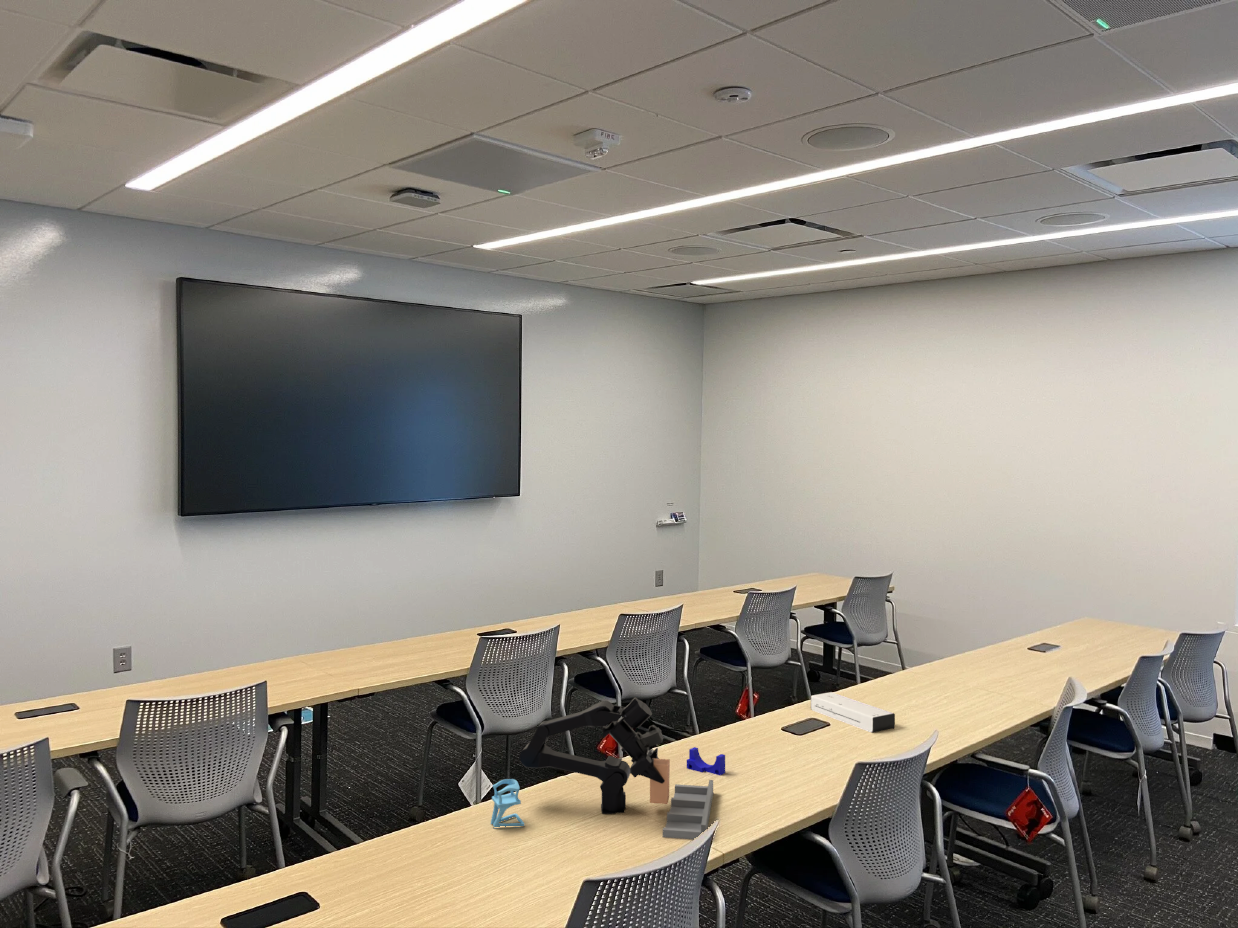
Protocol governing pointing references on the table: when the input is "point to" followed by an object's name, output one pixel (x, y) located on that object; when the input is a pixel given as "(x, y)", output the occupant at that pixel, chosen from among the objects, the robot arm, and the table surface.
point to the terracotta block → (660, 790)
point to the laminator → (853, 712)
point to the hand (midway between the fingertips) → (664, 778)
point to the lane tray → (689, 811)
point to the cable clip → (700, 766)
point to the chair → (505, 803)
